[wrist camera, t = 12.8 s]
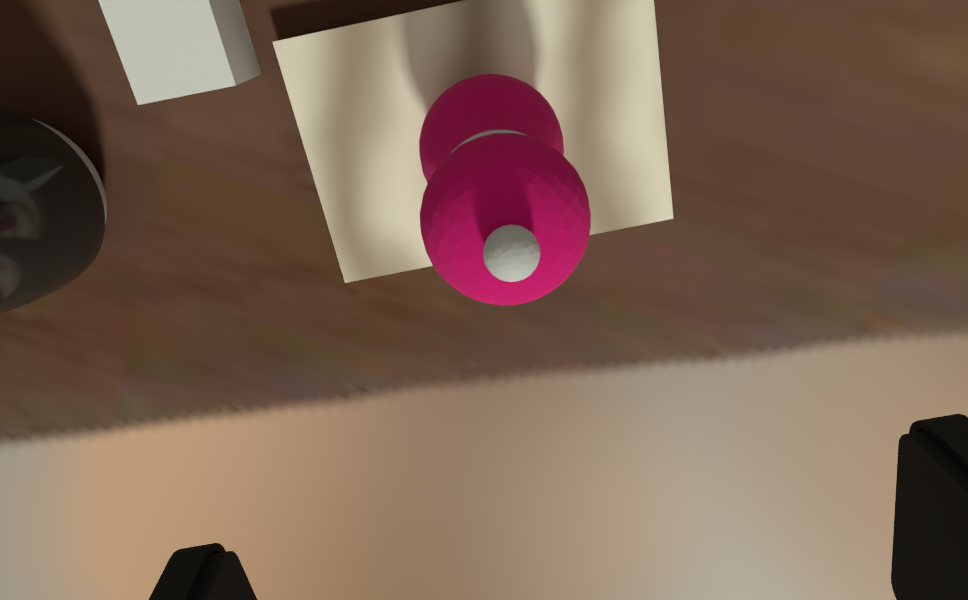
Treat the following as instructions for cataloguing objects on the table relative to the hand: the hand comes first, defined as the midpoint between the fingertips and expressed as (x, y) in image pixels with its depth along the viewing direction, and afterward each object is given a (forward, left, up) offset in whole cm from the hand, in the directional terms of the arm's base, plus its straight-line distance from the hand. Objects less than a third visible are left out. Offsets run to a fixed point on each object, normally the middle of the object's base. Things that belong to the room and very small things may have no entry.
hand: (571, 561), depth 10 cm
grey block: (+14, -8, -34) cm, 37 cm away
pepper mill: (0, 0, -32) cm, 32 cm away
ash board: (0, 0, -34) cm, 34 cm away
